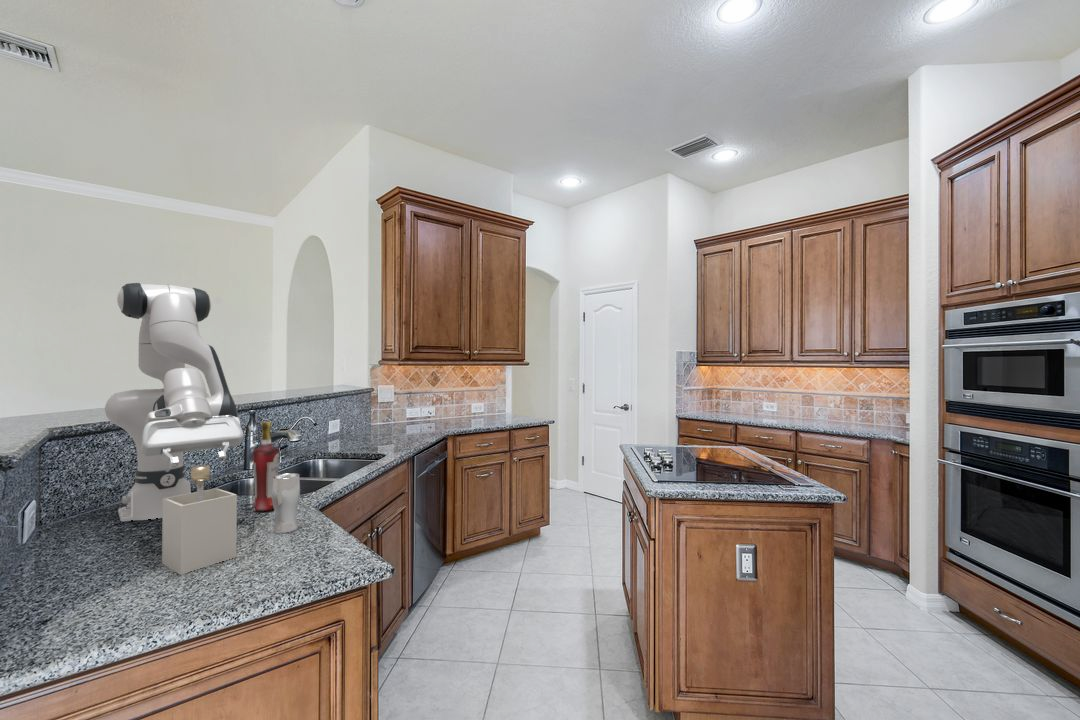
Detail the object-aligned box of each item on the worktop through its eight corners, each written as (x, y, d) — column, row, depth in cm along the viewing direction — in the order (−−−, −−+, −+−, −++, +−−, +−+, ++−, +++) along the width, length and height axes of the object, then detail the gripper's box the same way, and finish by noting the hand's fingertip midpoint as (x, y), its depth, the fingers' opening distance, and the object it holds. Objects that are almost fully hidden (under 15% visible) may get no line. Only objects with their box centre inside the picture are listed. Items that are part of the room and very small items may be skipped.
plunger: (170, 551, 107) (171, 468, 107) (212, 540, 114) (213, 461, 114) (185, 560, 102) (185, 472, 102) (228, 547, 109) (229, 465, 109)
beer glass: (287, 534, 124) (287, 479, 124) (265, 533, 125) (265, 478, 126) (305, 526, 131) (305, 473, 131) (284, 524, 132) (284, 472, 133)
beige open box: (162, 563, 106) (162, 498, 106) (216, 547, 115) (216, 488, 116) (180, 575, 100) (181, 506, 100) (236, 557, 109) (236, 494, 109)
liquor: (259, 506, 150) (260, 421, 150) (283, 505, 151) (283, 420, 151) (247, 513, 142) (248, 423, 143) (272, 512, 143) (273, 423, 144)
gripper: (235, 422, 126) (246, 463, 119) (137, 430, 111) (142, 478, 104) (240, 407, 123) (251, 448, 116) (139, 413, 108) (145, 461, 101)
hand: (199, 462), depth 110 cm, fingers open, 8 cm apart
